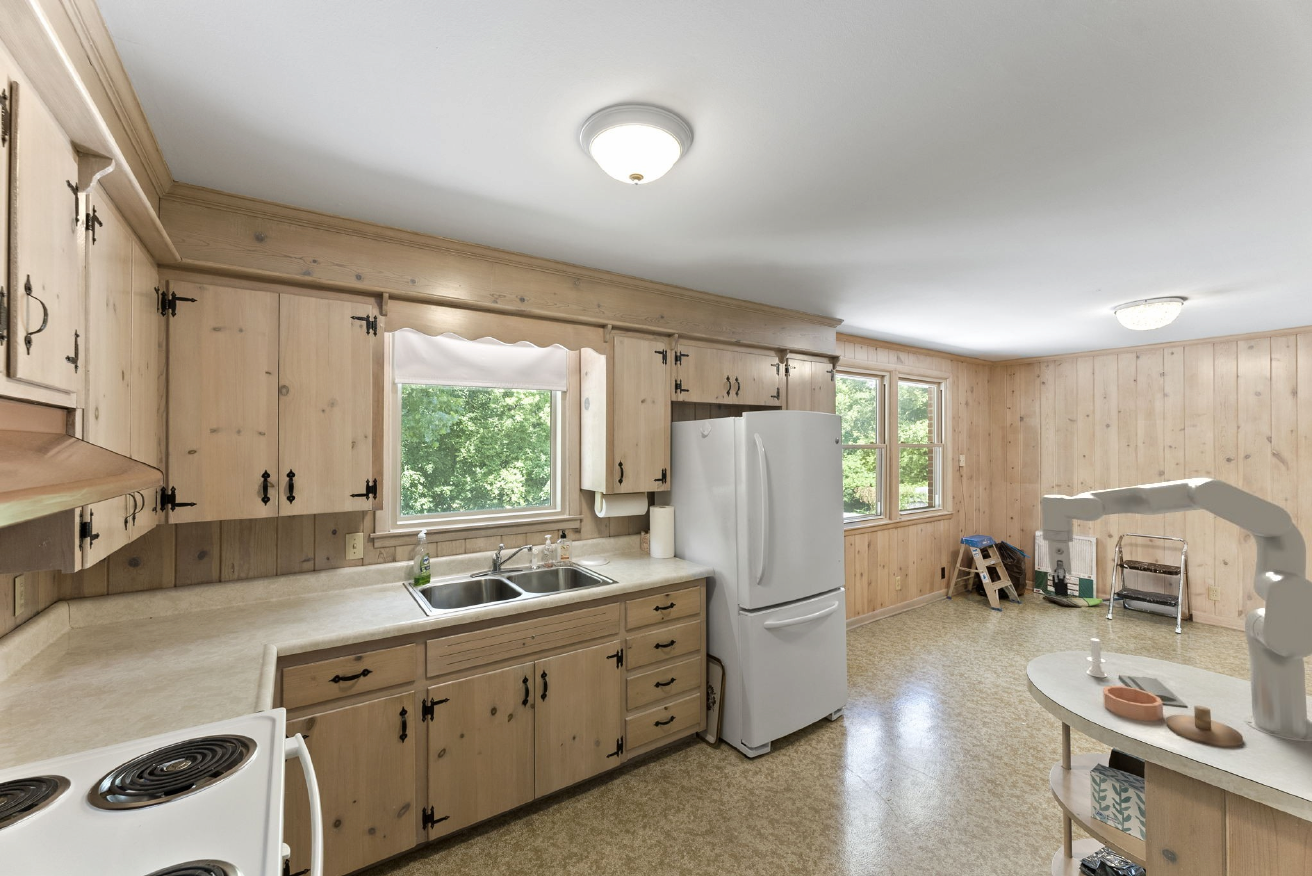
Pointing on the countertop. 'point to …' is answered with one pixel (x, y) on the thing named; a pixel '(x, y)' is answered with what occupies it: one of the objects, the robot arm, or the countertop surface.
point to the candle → (1096, 659)
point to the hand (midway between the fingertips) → (1060, 591)
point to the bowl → (1133, 703)
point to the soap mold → (1152, 689)
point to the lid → (1204, 729)
